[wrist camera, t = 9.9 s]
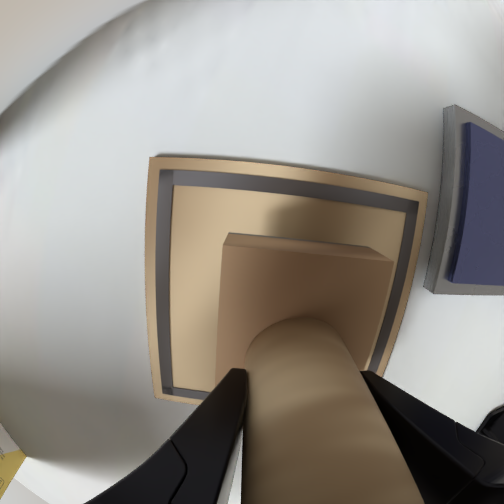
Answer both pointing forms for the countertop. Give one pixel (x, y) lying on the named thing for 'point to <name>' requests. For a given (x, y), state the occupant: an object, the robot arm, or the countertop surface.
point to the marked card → (258, 223)
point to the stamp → (308, 371)
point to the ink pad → (469, 209)
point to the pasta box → (8, 459)
